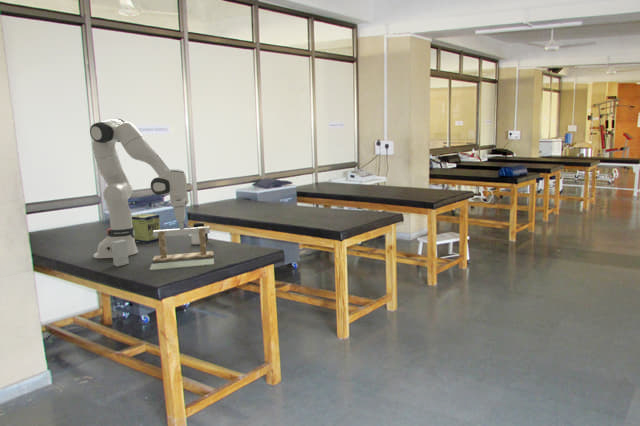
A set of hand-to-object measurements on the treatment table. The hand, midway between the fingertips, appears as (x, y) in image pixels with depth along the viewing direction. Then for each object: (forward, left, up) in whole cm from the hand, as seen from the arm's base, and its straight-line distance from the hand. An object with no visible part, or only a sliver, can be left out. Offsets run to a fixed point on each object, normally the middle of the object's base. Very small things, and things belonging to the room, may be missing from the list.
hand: (182, 227), depth 263 cm
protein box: (-24, +52, -16) cm, 60 cm away
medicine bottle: (+8, +32, -16) cm, 37 cm away
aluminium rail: (0, 0, -4) cm, 4 cm away
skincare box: (-30, -5, -16) cm, 35 cm away
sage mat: (0, -16, -16) cm, 22 cm away
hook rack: (0, 0, -16) cm, 16 cm away
